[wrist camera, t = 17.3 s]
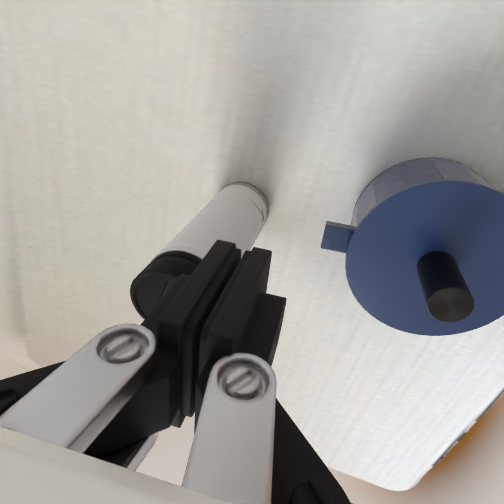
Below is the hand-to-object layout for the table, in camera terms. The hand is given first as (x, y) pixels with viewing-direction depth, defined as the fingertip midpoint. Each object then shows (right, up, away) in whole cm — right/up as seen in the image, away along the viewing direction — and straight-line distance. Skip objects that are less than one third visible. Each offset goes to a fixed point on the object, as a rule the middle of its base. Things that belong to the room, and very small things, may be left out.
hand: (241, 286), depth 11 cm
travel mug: (-1, +6, +31) cm, 32 cm away
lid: (+16, 0, +20) cm, 25 cm away
